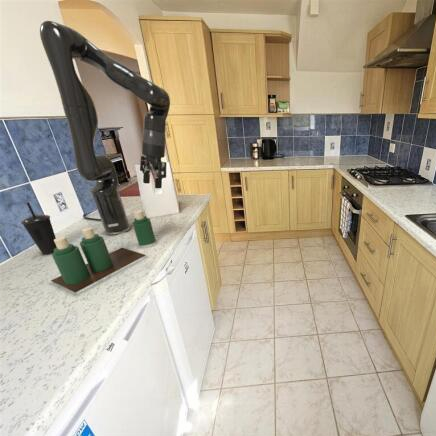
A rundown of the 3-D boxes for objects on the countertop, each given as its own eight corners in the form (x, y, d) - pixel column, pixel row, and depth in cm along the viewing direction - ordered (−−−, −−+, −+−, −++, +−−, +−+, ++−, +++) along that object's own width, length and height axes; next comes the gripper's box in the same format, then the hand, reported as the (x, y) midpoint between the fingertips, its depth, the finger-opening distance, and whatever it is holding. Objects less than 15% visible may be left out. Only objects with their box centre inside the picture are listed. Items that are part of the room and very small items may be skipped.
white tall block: (179, 212, 128) (168, 165, 118) (146, 218, 122) (132, 168, 112) (178, 202, 144) (169, 159, 134) (149, 206, 138) (137, 162, 129)
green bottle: (135, 245, 96) (125, 212, 90) (149, 239, 101) (140, 207, 95) (146, 248, 94) (135, 215, 88) (159, 242, 99) (150, 209, 93)
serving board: (51, 283, 75) (50, 280, 75) (122, 249, 93) (121, 247, 93) (76, 295, 70) (75, 292, 69) (146, 257, 88) (146, 255, 87)
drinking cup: (68, 248, 96) (47, 200, 88) (45, 258, 89) (20, 207, 81) (56, 245, 98) (34, 198, 90) (32, 254, 91) (6, 205, 83)
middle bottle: (86, 269, 80) (70, 231, 74) (106, 260, 85) (92, 223, 79) (97, 273, 78) (81, 234, 72) (116, 264, 82) (102, 226, 77)
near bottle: (61, 281, 74) (41, 241, 69) (83, 271, 79) (66, 232, 73) (71, 286, 72) (52, 245, 66) (94, 275, 77) (77, 236, 71)
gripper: (133, 139, 91) (132, 181, 95) (154, 144, 84) (152, 189, 88) (153, 142, 98) (152, 182, 102) (174, 147, 91) (171, 189, 95)
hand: (152, 185), depth 95 cm, fingers open, 8 cm apart
